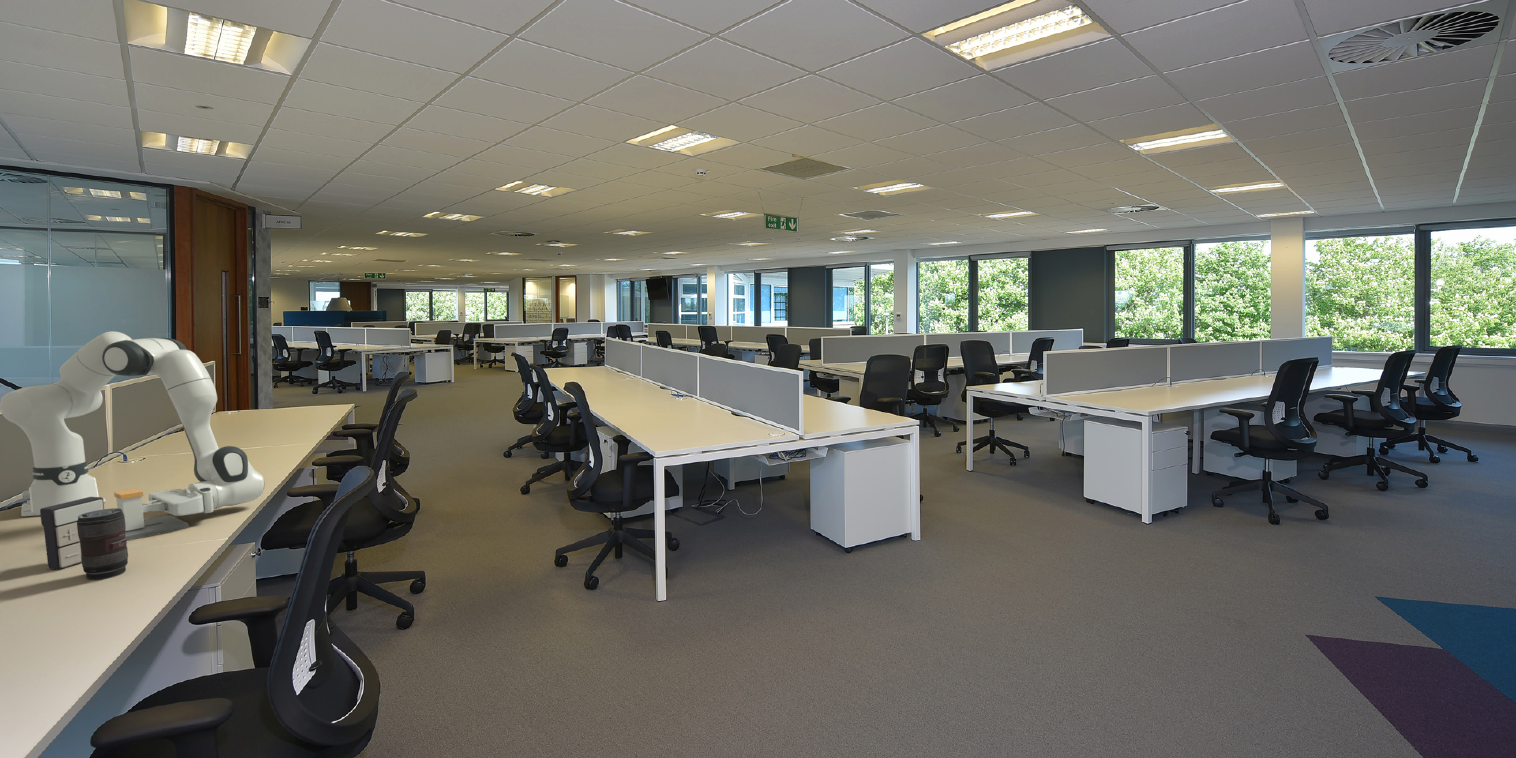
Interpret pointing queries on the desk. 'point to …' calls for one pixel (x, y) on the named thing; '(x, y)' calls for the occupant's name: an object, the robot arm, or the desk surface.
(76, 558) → the calculator
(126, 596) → the desk surface
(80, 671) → the desk surface
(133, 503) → the fader knob
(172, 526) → the fader console
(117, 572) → the camera lens
